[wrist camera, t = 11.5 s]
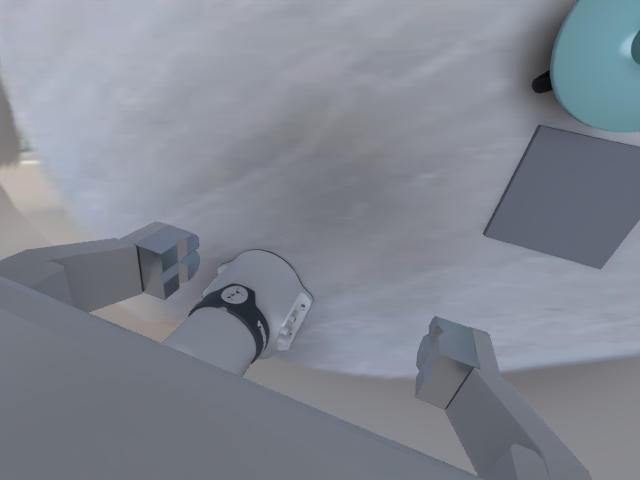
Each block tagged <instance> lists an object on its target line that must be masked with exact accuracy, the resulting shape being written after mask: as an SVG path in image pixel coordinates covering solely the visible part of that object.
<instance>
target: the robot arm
mask: <svg viewBox="0 0 640 480" xmlns="http://www.w3.org/2000/svg"><path fill="white" fill-rule="evenodd" d="M198 247H199V237H198V236H197V235H196V234H193V233H190V232H187V231H185V230H182V229H179V228H176V227H174V226H170V225H168V224H165V223H162V222H154V223H151V224H149V225H147V226H145V227H143V228H141V229H139V230H137V231H135V232H133V233H131V234H129V235H127V236H125V237H123V238H121V239H116V238H112V239H105V240H97V241H90V242H82V243H74V244H67V245H59V246H52V247H44V248H37V249H29V250H25V251H22V252H20V253H17V254H15V255H12V256H10V257H7V258H5V259H3V260H0V480H592V478H591V476H590V474H589V471H588V470H587V469H586V468H585V467H584V466H583V465H582V463H581V462H580V461H579V460H578V459H577V458H576V457H575V456H574V454H573V453H572V452H571V451H570V450H569V449H568V448H567V447H566V445H564V443H563V442H562V441H561V440H560V439H559V438H558V436H557V435H556V434H555V433H554V432H553V431H552V430H551V429H550V427H549V426H548V425H547V424H546V423H545V422H544V421H543V420H542V418H541V417H540V416H539V415H538V414H537V413H536V412H535V411H534V409H533V408H532V407H531V406H530V405H529V404H528V403H527V402H526V401H525V399H524V398H523V397H522V396H521V395H520V394H519V393H518V392H517V390H516V389H515V388H514V387H513V386H512V385H511V384H510V382H509V381H508V380H507V379H505V378H502V377H501V375H500V372H499V368H498V364H497V360H496V357H495V353H494V349H493V346H492V342H491V338H490V335H489V334H488V333H487V332H484V331H481V330H478V329H475V328H472V327H467V326H464V325H461V324H458V323H455V322H452V321H449V320H446V319H443V318H440V317H437V316H435V317H434V318H433V319H432V321H431V323H430V325H429V334H427V335H425V336H424V337H423V339H422V341H421V343H420V346H419V350H418V354H417V363H416V366H417V368H418V369H419V373H418V375H417V377H416V398H418V399H420V400H422V401H425V402H427V403H430V404H432V405H435V406H437V407H439V408H442V409H444V410H446V411H445V412H446V414H447V416H448V418H449V420H450V422H451V424H452V426H453V428H454V430H455V432H456V434H457V436H458V438H459V440H460V442H461V443H462V445H463V447H464V449H465V451H466V453H467V455H468V457H469V459H470V461H471V463H472V465H473V467H474V469H475V471H476V472H477V475H478V476H476V475H474V474H472V473H469V472H467V471H464V470H462V469H460V468H457V467H454V466H453V465H450V464H448V463H445V462H443V461H441V460H438V459H435V458H433V457H431V456H429V455H426V454H424V453H421V452H419V451H417V450H414V449H412V448H410V447H407V446H405V445H403V444H400V443H397V442H395V441H393V440H390V439H388V438H386V437H383V436H381V435H379V434H376V433H374V432H372V431H369V430H367V429H364V428H362V427H360V426H357V425H354V424H352V423H350V422H347V421H345V420H343V419H340V418H338V417H336V416H333V415H331V414H329V413H326V412H324V411H321V410H319V409H317V408H314V407H312V406H310V405H307V404H305V403H302V402H300V401H297V400H295V399H293V398H290V397H288V396H286V395H283V394H281V393H279V392H276V391H274V390H271V389H269V388H267V387H264V386H262V385H260V384H257V383H255V382H252V381H250V380H248V379H245V378H243V375H244V374H245V372H246V370H247V369H248V367H249V365H250V364H252V363H253V362H254V361H255V360H257V359H268V358H270V357H271V356H272V355H273V353H274V351H275V350H277V351H285V350H288V349H289V347H290V346H291V344H292V342H293V340H294V338H295V336H296V334H297V332H298V330H299V329H300V327H301V325H302V323H303V321H304V319H305V317H306V315H307V313H308V311H309V309H310V307H311V305H312V303H313V298H312V296H311V295H310V294H309V293H308V292H307V291H306V290H305V289H304V288H303V286H302V285H301V283H300V281H299V279H298V277H297V275H296V273H295V272H294V270H293V269H292V268H291V267H290V266H289V265H288V264H287V263H286V262H285V261H284V260H282V259H281V258H279V257H278V256H276V255H274V254H272V253H269V252H266V251H261V250H250V251H246V252H243V253H241V254H240V255H238V256H237V257H236V258H235V259H234V260H233V261H232V262H229V263H225V264H222V265H221V266H220V267H219V268H218V270H217V272H218V276H217V277H216V278H215V279H214V281H213V282H212V283H211V284H210V285H209V286H208V287H207V289H206V290H205V291H204V292H203V299H201V300H200V301H199V302H198V303H197V304H196V305H195V307H194V308H193V309H192V310H191V312H190V314H189V316H188V318H187V319H186V320H185V321H184V322H183V323H182V324H181V325H180V326H179V327H178V328H177V329H176V330H175V331H174V332H173V333H172V334H171V335H170V336H169V337H168V338H167V339H166V340H165V341H164V342H162V343H159V342H157V341H155V340H152V339H150V338H147V337H145V336H143V335H140V334H138V333H136V332H133V331H131V330H128V329H126V328H123V327H121V326H119V325H116V324H114V323H112V322H109V321H107V320H104V319H102V318H100V317H97V316H95V315H93V314H90V313H88V312H91V311H94V310H97V309H100V308H103V307H105V306H108V305H110V304H114V303H117V302H119V301H122V300H125V299H128V298H131V297H133V296H136V295H139V294H142V293H143V292H144V293H147V294H150V295H153V296H155V297H158V298H161V299H164V300H166V299H167V298H168V297H169V296H170V295H172V294H173V293H174V292H175V291H177V290H178V289H179V285H180V283H183V282H187V281H189V280H190V279H191V278H192V277H193V276H194V275H195V273H196V272H197V270H198V267H199V263H200V257H199V255H198V253H197V252H196V249H197V248H198ZM303 304H304V305H303Z"/></svg>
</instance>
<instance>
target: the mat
mask: <svg viewBox="0 0 640 480" xmlns="http://www.w3.org/2000/svg"><path fill="white" fill-rule="evenodd" d="M639 220H640V147H635V146H631V145H626V144H622V143H617V142H612V141H608V140H603V139H599V138H594V137H590V136H585V135H581V134H576V133H572V132H567V131H562V130H558V129H553V128H549V127H544V126H540V125H539V126H538V128H537V130H536V132H535V134H534V136H533V137H532V139H531V141H530V143H529V145H528V147H527V149H526V151H525V153H524V155H523V157H522V159H521V161H520V163H519V165H518V167H517V169H516V171H515V173H514V175H513V177H512V179H511V180H510V182H509V184H508V186H507V188H506V190H505V192H504V194H503V196H502V198H501V200H500V202H499V204H498V206H497V208H496V210H495V212H494V214H493V216H492V218H491V220H490V222H489V223H488V225H487V227H486V229H485V231H484V233H483V234H484V236H486V237H490V238H493V239H497V240H500V241H504V242H507V243H511V244H514V245H518V246H521V247H525V248H528V249H532V250H535V251H539V252H542V253H546V254H549V255H553V256H556V257H560V258H563V259H567V260H570V261H574V262H577V263H581V264H584V265H587V266H591V267H594V268H598V269H601V268H602V267H603V266H604V265H605V263H606V262H607V261H608V259H609V258H610V257H611V256H612V254H613V253H614V252H615V250H616V249H617V248H618V247H619V245H620V244H621V243H622V241H623V240H624V239H625V238H626V236H627V235H628V234H629V233H630V231H631V230H632V229H633V227H634V226H635V225H636V224H637V222H638V221H639Z"/></svg>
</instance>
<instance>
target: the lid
mask: <svg viewBox="0 0 640 480" xmlns="http://www.w3.org/2000/svg"><path fill="white" fill-rule="evenodd" d="M550 78H551V84H552V88H553V91H554V94H555V96H556V98H557V100H558V102H559V104H560V105H561V106H562V108H563V109H564V110H565V111H566V112H567V113H568V114H569V115H570V116H571V117H573V118H574V119H576V120H578V121H579V122H581V123H583V124H586V125H588V126H591V127H595V128H598V129H602V130H606V131H614V132H639V131H640V0H577V2H576V3H575V4H574V6H573V7H572V9H571V10H570V12H569V13H568V15H567V16H566V18H565V20H564V22H563V24H562V26H561V28H560V30H559V32H558V35H557V37H556V40H555V43H554V47H553V51H552V55H551V62H550Z"/></svg>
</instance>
